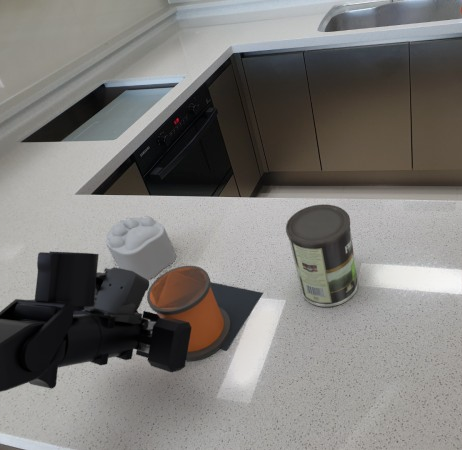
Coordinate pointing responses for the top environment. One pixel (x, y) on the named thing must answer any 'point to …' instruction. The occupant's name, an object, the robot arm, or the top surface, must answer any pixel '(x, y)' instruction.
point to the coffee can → (323, 254)
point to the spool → (191, 308)
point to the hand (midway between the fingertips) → (168, 327)
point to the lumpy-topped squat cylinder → (140, 246)
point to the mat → (234, 306)
